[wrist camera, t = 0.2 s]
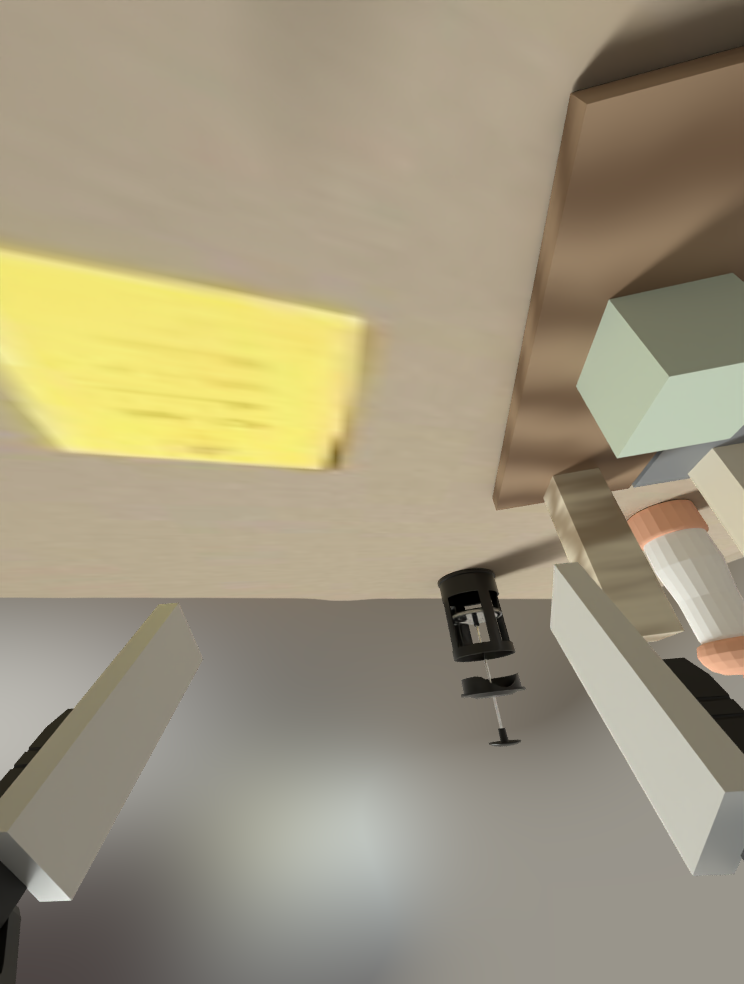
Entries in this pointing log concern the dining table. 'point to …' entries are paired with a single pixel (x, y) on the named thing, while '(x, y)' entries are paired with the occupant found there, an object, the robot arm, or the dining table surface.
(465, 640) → the french press
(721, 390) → the sage block
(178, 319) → the dining table surface
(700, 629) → the pepper shaker
